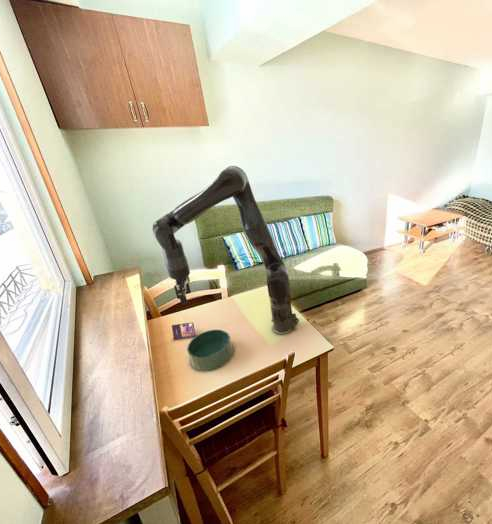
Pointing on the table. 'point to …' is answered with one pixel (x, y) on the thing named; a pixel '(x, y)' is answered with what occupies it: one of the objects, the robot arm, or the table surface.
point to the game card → (187, 329)
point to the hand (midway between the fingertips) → (186, 298)
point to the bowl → (210, 350)
